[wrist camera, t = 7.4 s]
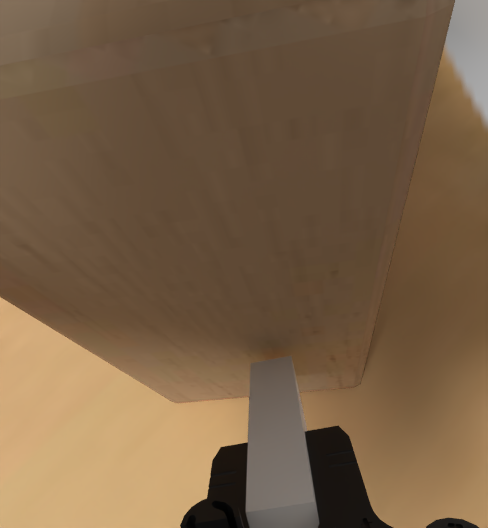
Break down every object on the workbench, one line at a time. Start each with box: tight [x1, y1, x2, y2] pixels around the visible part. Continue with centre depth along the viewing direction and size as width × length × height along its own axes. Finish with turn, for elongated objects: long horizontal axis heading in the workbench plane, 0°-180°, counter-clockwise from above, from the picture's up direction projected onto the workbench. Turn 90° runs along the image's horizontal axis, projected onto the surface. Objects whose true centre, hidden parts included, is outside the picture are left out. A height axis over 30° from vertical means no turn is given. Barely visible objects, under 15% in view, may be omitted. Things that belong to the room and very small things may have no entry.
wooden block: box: [0, 0, 455, 403], centre depth 16 cm, size 10×10×20 cm
